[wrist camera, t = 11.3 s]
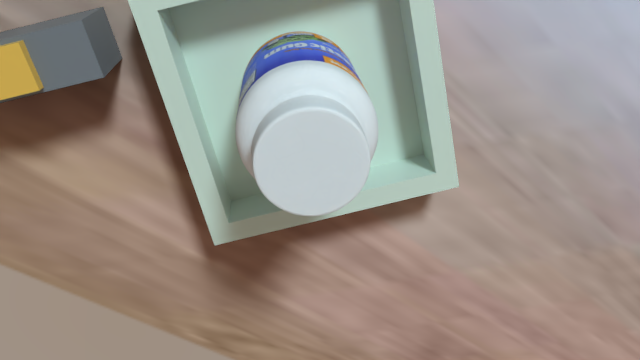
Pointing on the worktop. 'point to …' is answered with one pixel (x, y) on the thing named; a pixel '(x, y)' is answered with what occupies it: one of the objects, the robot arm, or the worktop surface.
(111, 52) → the block
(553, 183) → the worktop surface
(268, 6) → the tray
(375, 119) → the pill bottle
